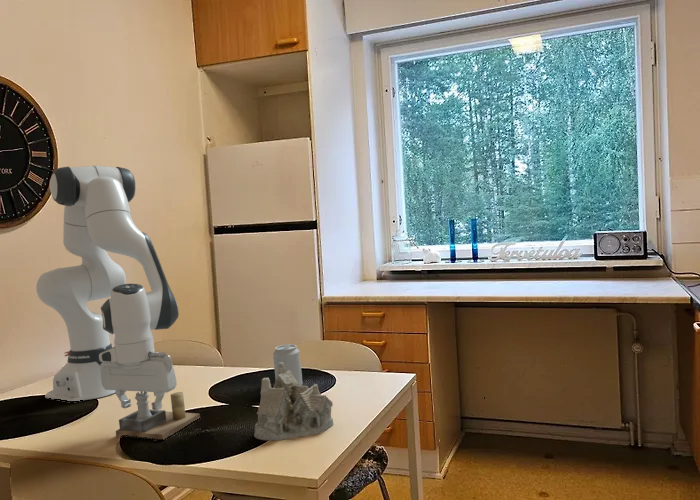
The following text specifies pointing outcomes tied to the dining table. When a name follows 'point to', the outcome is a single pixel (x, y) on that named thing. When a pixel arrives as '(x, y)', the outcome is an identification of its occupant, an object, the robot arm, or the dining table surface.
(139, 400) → the rook chess piece
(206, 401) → the dining table surface
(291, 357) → the can
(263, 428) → the ceramic cottage
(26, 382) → the dining table surface
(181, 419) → the carrier plate
